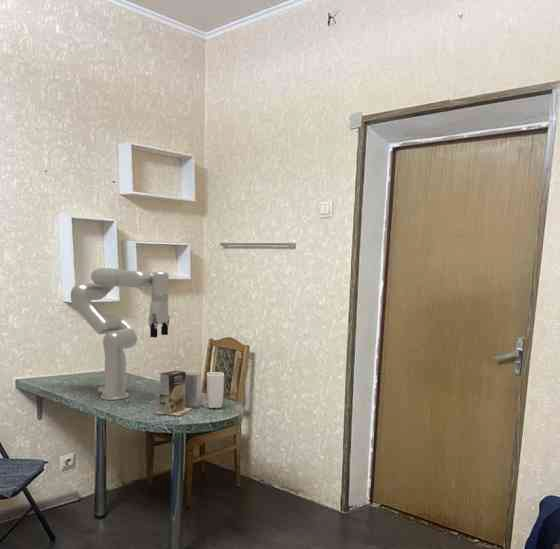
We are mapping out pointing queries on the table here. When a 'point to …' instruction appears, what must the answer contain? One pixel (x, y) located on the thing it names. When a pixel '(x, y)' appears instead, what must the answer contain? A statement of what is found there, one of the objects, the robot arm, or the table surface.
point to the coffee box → (172, 391)
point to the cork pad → (177, 413)
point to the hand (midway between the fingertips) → (159, 336)
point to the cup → (215, 389)
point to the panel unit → (193, 390)
